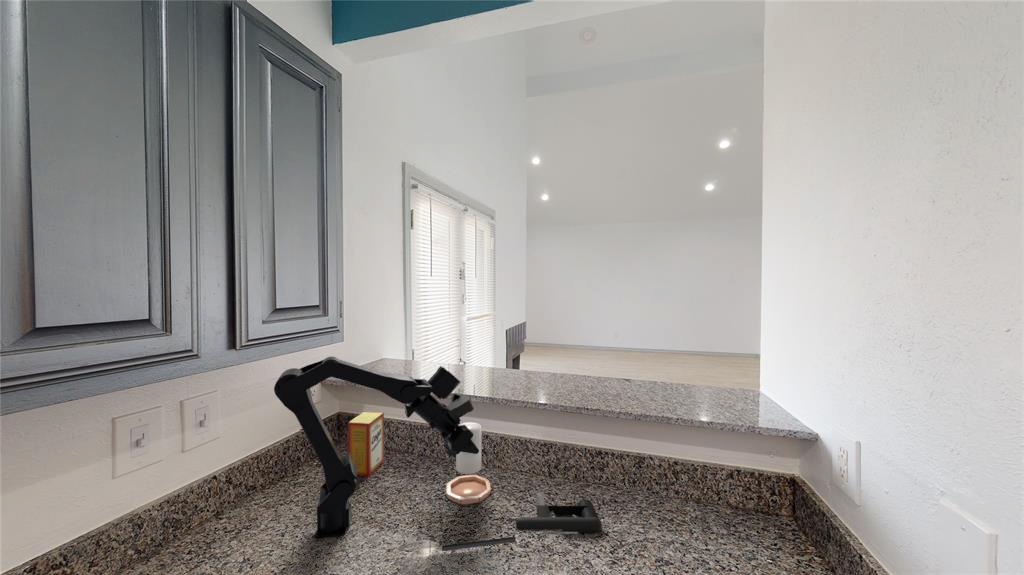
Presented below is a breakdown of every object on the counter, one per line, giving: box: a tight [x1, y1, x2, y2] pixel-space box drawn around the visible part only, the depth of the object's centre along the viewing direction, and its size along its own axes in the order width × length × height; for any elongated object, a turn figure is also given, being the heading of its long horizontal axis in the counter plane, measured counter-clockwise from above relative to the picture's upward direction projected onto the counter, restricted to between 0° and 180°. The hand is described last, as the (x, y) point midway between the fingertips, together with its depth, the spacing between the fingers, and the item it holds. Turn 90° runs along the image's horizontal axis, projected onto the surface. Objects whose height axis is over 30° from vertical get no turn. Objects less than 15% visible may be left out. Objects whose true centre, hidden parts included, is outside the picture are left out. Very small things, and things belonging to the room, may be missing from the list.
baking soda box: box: [347, 411, 385, 477], centre depth 115 cm, size 10×6×16 cm
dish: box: [445, 474, 492, 505], centre depth 101 cm, size 12×12×2 cm
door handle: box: [515, 491, 603, 535], centre depth 92 cm, size 3×20×16 cm
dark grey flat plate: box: [441, 536, 516, 552], centre depth 87 cm, size 16×12×1 cm
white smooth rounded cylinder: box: [455, 421, 483, 475], centre depth 100 cm, size 7×7×11 cm
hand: (473, 446), depth 101 cm, fingers closed on white smooth rounded cylinder, 7 cm apart
